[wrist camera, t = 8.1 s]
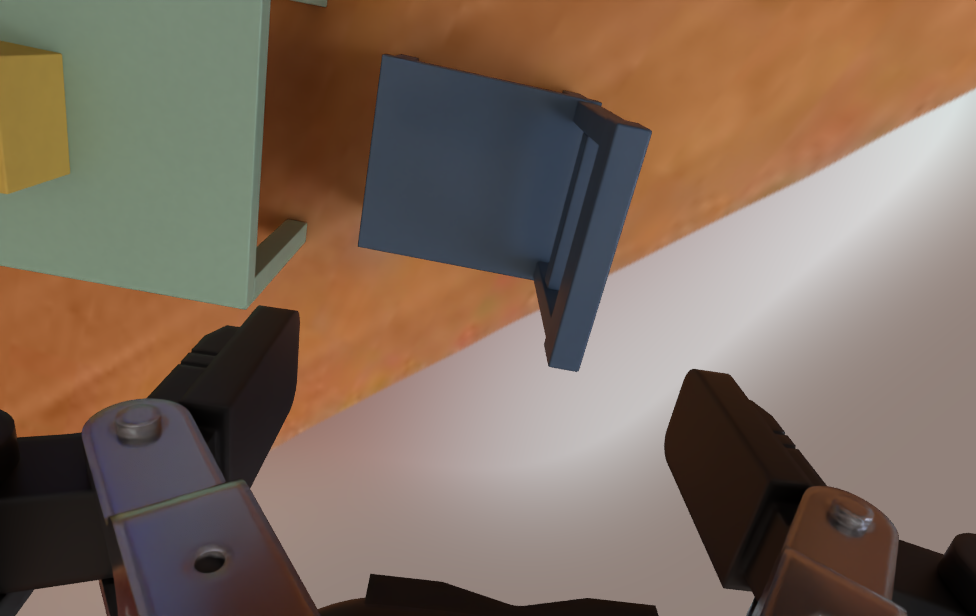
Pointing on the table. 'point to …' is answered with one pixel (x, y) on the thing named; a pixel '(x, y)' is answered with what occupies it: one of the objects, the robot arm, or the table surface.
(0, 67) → the mustard yellow cube
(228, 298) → the side table
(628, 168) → the chair
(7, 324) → the table surface
